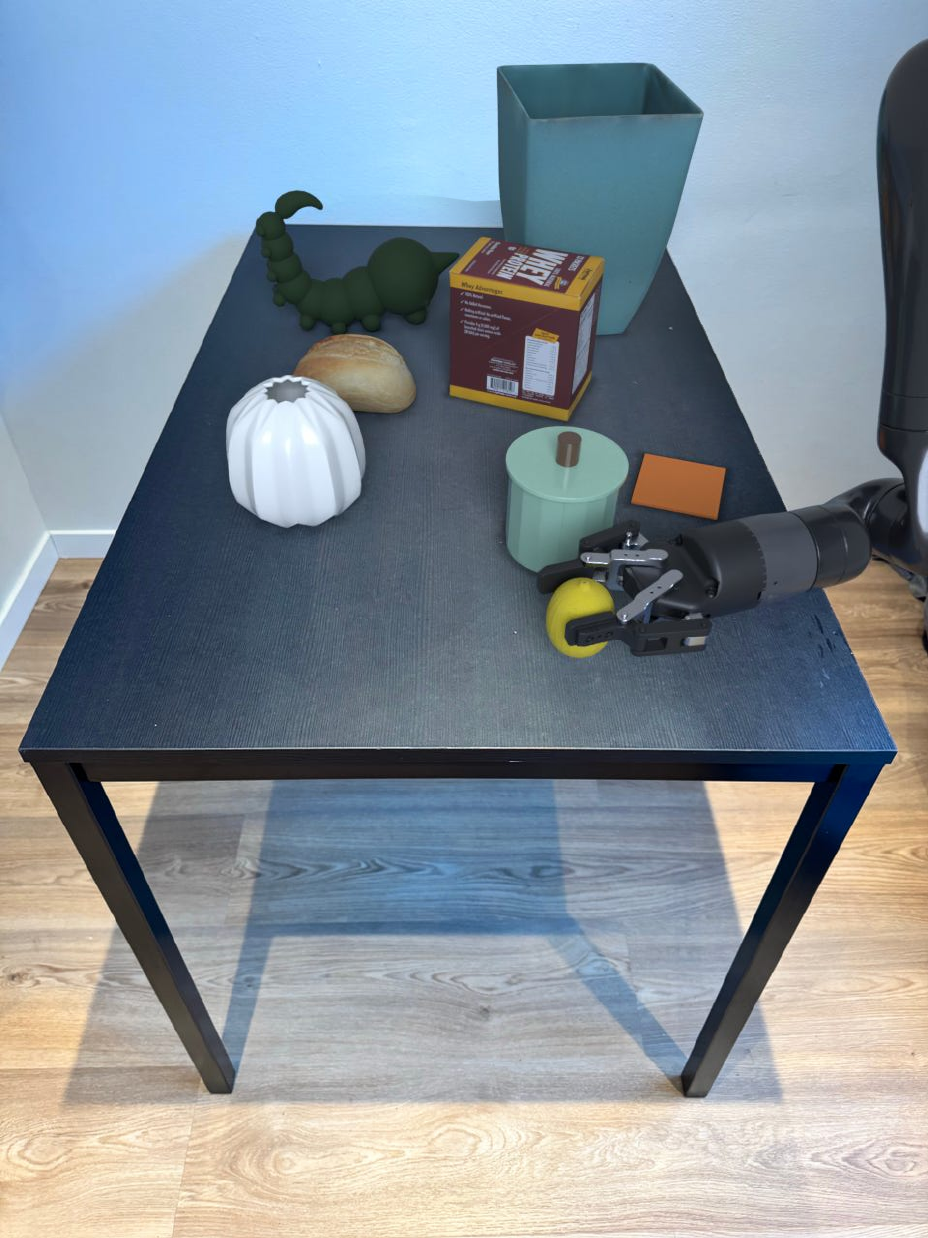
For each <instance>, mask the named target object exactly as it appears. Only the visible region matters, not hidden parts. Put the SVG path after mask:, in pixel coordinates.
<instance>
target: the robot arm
mask: <svg viewBox="0 0 928 1238" xmlns="http://www.w3.org/2000/svg"><path fill="white" fill-rule="evenodd" d="M876 117H877V118H876V126H875V168H876V169H875V170H876V183H877V200H878V216H879V237H880V250H881V252H880V254H881V264H882V275H883V278H882V279H883V293H884V294H883V295H884V311H885V313H884V314H885V316H884V317H885V328H884V329H885V331H884V353H883V366H882V376H881V386H880V394H879V395H880V396H879V405H878V406H879V407H878V414H877V426H876V445H877V448H878V450H879V452H880V454H881V455H882V456H883V457H885V459H887V460H888V461H889V462H890V463H892V464H893V465H894V466H895V467H896V468H897V469H898V471H899V472H900V474H901V476H902V477H882V478H875V479H870V480H868V481H865V482H862V483H860V484H858V485H856V486H854V487H851V488H850V489H848V490H845V491H844V492H841V493H839V494H838V495H836V496H833V497H832V498H831V499H829V500H827V501H826V502H824V503H821V504H815V505H810V506H809V505H808V506H805V507H801V508H796V509H791V510H787V511H782V512H774V513H759V514H754V515H749V516H745V517H741V518H736V519H729V520H725V521H721V522H718V523H712V524H707V525H704V526H697V527H693V528H689V529H686V530H685V531H683V532H682V533H680V534H679V535H678V536H676V537H675V538H673V539H671V540H669V541H659V540H650V541H649V540H648V539H647V538H646V537H644V535H643V534H641V533H640V530H641V523H640V522H639V521H638V520H635V519H629V520H627V521H624V522H621V523H618V524H615V525H614V526H613V527H611V528H608V529H605V530H603V531H600V532H597V533H595V534H592V535H589V536H587V537H584V538H581V539H580V541H579V549H578V557H577V558H576V559H574V560H570V561H565V562H560V563H556V564H551V565H547V566H545V567H543V568H542V569H541V570H540V571H539V572H537V574H536V585H535V586H536V589H537V590H538V592H539V594H540V595H547V594H548V595H549V594H552V593H554V592H555V591H556V589H557V588H558V587H559V586H561V585H562V584H563V583H565V582H566V581H568V580H571V579H574V578H589V579H593V580H595V581H597V582H599V583H600V584H602V585H603V586H604V587H605V588H606V589H607V590H608V591H609V590H610V591H619V592H620V591H622V592H625V594H627V595H628V596H629V597H630V598H631V599H632V601H631V602H630V603H628V604H626V605H624V606H623V607H622V608H620V609H619V610H617V612H616V613H615V615H614V614H613V613H612V611H607V612H603V613H598V614H594V615H590V616H586V617H581V618H577V619H573V620H570V621H568V622H567V623H566V626H565V635H564V638H565V640H566V642H567V644H568V645H569V646H574V645H577V646H578V647H586V646H590V645H594V644H596V643H597V644H598V643H602V642H607V641H608V642H611V641H615V642H617V643H624V644H625V645H626V646H627V647H629V653H630V654H631V655H632V656H634V657H637V658H641V657H652V656H653V657H654V656H666V655H675V654H687V653H699V652H704V651H705V650H706V649H707V646H708V643H709V640H710V637H711V633H712V629H713V623H712V621H711V620H713V619H716V618H721V617H724V616H729V615H733V614H737V613H741V612H745V611H750V610H754V609H758V608H761V607H766V606H770V605H774V604H778V603H781V602H784V601H787V600H789V599H791V598H793V597H797V596H799V595H802V594H806V593H811V592H815V591H819V590H823V589H826V588H831V587H836V586H839V585H844V584H845V583H848V582H850V581H853V580H854V579H857V578H858V577H859V576H861V575H862V574H863V573H864V572H865V570H866V569H867V568H868V566H869V564H870V562H871V558H872V555H875V556H877V557H879V558H881V559H883V560H885V561H887V562H889V563H891V564H893V565H895V566H898V567H899V568H901V569H903V570H905V571H907V572H910V573H912V574H914V575H917V576H920V577H923V578H928V38H925V39H923V40H921V41H919V42H918V43H916V44H914V45H913V46H912V47H910V48H909V49H907V51H906V52H904V54H903V55H902V56H901V57H900V58H899V59H898V61H897V62H896V64H895V65H894V67H893V68H892V70H891V71H890V73H889V75H888V77H887V80H886V81H885V84H884V86H883V89H882V93H881V96H880V100H879V105H878V108H877V116H876ZM598 547H599V548H598ZM595 548H598V549H596V550H594V549H595ZM623 565H624V567H623V573H622V575H619V569H620V567H621V566H623ZM594 567H596V568H607V569H606V570H595V568H594ZM663 620H664V621H663ZM665 620H666V621H665ZM649 639H650V640H649Z"/></svg>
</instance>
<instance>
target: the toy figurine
mask: <svg viewBox="0 0 928 1238" xmlns="http://www.w3.org/2000/svg"><path fill="white" fill-rule="evenodd" d="M308 207H309V208H314V209H316V210H319V211H322V210H323V209H324V204H323V203H322V201H321V200H320V199H319V198H318V197H317V196H315V195H314V194H312V193H311V192H308V191H306V190H300V189H298V190H297V189H296V190H290V191H287V192H285V193H283V194H281V195H280V196H279V197H278V198H277V199H276V201H275V204H274V211H271V210H270V211H269V210H268V211H264V212H262V213H261V214H260V216H259V217H258V218H256V220H255V225H256V228H255V233H256V235H257V236H259V237H261V240H260V246H261V250H260V254H261V256H262V257H263V259H267V260H266V267H267V270H268V271H267V274H266V278H267V281H269V282H270V283H275V282H276V283H275V284H274V285H273V286H272V288H271V289H272V292H273V294H274V295H273V297H272V301H273V304H274V305H275V306H276V307H278V308H280V307H284V306H285V305H286V303H288V304H290V305H293V306H295V309H296V310H297V312H298V313H300V315H299V324H298V325H299V326H300V327H301V328H302V329H303V330H306V331H307V330H308V331H310V330H311V329H313V328H314V326H315V321H319V320H320V321H321V322H323V324H326V325H328V326H330V329H331V332H332V333H333V335H342V334H346V332H347V331H348V327H347V326H349V325H351V324H352V323H353V322H354V321H355V320H358V321H361V325H362V327H363V328H364V329H365V330H366V331H367V332H376V331H377V330H378V329H379V328H381V322H382V317H381V316H383V314H384V313H385V312H388V313H391V314H394V315H401V316H402V315H403V316H404V319H405V321H406V322H408V323H410V324H412V325H417V326H418V325H420V324H422V323H423V322H425V320H426V318H427V313H428V310H427V307H429V306H430V305H431V301H432V299H433V298H434V296H435V294H436V292H437V289H438V284H439V277H440V276H441V274H442V273H443V272H445V270H447V269H448V268H449V267H450V266H451V265H453V264H454V263H455V262H456V261H457V260H458V259H459V258H460V257H461V254H460V253H459V252H455V251H454V252H453V251H449V252H448V251H431V250H429V249H428V248H427V247H426V246H425V245H424V244H422V243H421V242H419V241H417V240H414V239H412V238H409V237H394V238H391V239H388V240H386V241H384V242H382V243H380V245H378V246H377V247H376V248H375V249H374V251H373V252H372V253H371V255H370V257H369V259H368V261H367V264H366V265H361V266H356V267H353V268H352V269H350V270H349V271H347V272H346V273H345V274H344V275H343V277H329V278H327V279H325V280H323V281H322V280H320V279H318V278H317V279H316V278H312V276H311V275H310V273H309V272H308V271H307V270H306V269H304V268H303V264H302V260H301V258H300V256H299V255H298V254H297V253H296V252H295V251H294V250H295V249H294V248H295V247H294V242H293V241H294V240H293V238H292V236H291V235H290V234H289V232H287V229H286V228H287V225H286V222H285V220H288V219H290V218H292V217H293V216H294V215H296V213H297V212H298V211H299V210H302V209H303V208H308Z"/></svg>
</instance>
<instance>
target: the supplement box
mask: <svg viewBox="0 0 928 1238" xmlns="http://www.w3.org/2000/svg"><path fill="white" fill-rule="evenodd" d="M604 263H605V259H604V258H601V257H597V256H591V255H583V254H577V253H571V252H565V251H559V250H553V249H547V248H541V247H535V246H530V245H524V244H519V243H513V242H507V241H505V240H502V239H497V238H496V239H495V238H491V237H485V236H480V238H478V240H476V242H475V243H474V244H473V245H472V246H471V247H470V248H469V249H468V250H467V251H466V253H465V254H463V256H462V257H461V258H460V259H459V260H458V261H457V262H456V263H455V264H454V265H453V266H452V267H451V268H450V270H449V271H448V273H449V396H450V397H456V398H460V399H465V400H469V401H474V402H479V403H483V404H487V405H493V406H496V407H501V408H505V409H509V410H514V411H519V412H523V413H527V414H531V415H537V416H540V417H546V418H549V419H555V420H559V421H563V422H568V421H569V420H570V418H571V416H572V414H573V412H574V411H575V409H576V407H577V405H578V403H579V402H580V401H581V399H582V396H583V395H584V393H585V391H586V389H587V388H588V385H589V383H590V382H591V380H592V374H593V363H594V362H593V361H594V354H595V346H596V336H597V335H596V330H597V322H598V313H599V305H600V296H601V288H602V280H603V271H604Z"/></svg>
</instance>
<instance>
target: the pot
mask: <svg viewBox="0 0 928 1238" xmlns="http://www.w3.org/2000/svg"><path fill="white" fill-rule="evenodd" d="M620 493H621V487H620V488H619V489H618V490H616V491H615V492H614V493H612V494H610V495H608V496H606V497H604V498H601V499H598V500H594V501H589V502H581V503H564V502H556V501H551V500H547V499H543V498H540V497H537V496H535V495H533V494H530V493H529V492H527V491H525V490H523V489H522V488H521V487H519V486H518V485H517V484H516V483H515V482H514V481H513V480H512V479H511V477H510V476H509V475H508V485H507V501H506V517H505V531H504V533H505V544H506V547H507V550H508V552H509V554H510V555H511V557H512V558H513V559H514V560H515V561H516V562H518V563H519V565H521V566H523V567H524V568H526V569H528V570H530V571H532V572H535V573H538V572H539V571H540V570H541V569H542V568H543V567H545V566H547V565H551V564H556V563H560V562H565V561H570V560H574V559H576V558H577V557H578V549H579V541H580V539H581V538H584V537H587V536H589V535H592V534H595V533H597V532H600V531H603V530H605V529H608V528H611V527H613V526H615V521H616V515H617V509H618V503H619V498H620V497H619V496H620ZM598 548H599V547H598ZM598 548H595V549H594V550H596V549H598ZM596 568H597V567H594V569H596Z"/></svg>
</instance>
